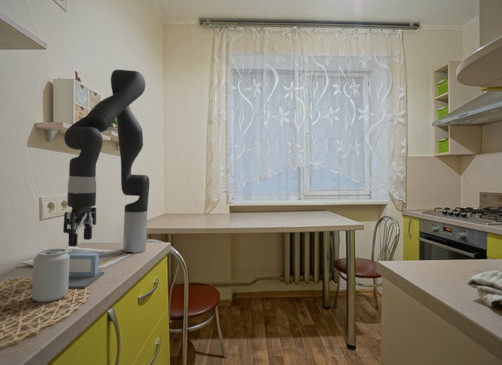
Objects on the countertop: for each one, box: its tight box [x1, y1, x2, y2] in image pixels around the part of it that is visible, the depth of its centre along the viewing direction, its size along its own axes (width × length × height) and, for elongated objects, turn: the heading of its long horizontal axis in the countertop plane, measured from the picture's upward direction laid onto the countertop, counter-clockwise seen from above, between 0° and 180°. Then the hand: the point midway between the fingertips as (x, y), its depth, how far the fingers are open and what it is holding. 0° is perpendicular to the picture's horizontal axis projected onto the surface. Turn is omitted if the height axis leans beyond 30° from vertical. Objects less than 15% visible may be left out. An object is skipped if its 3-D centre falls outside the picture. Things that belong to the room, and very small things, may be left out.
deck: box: [68, 252, 100, 277], centre depth 83 cm, size 2×9×6 cm, turn 96°
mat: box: [68, 271, 105, 289], centre depth 80 cm, size 12×14×1 cm
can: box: [31, 248, 70, 303], centre depth 69 cm, size 8×8×12 cm
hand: (80, 242), depth 84 cm, fingers open, 8 cm apart
